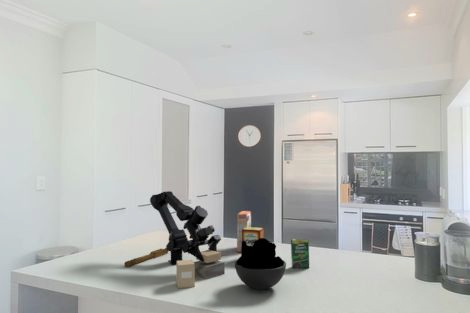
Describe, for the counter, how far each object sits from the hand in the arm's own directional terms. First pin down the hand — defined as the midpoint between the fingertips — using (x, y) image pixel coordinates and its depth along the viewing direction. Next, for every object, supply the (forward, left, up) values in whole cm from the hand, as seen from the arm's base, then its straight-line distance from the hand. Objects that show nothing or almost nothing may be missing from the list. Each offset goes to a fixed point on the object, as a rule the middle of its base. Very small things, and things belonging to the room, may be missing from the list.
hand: (210, 259), depth 154 cm
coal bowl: (+25, +10, -7) cm, 27 cm away
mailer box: (+7, -14, -6) cm, 17 cm away
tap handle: (-38, -17, -7) cm, 42 cm away
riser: (-1, 0, -6) cm, 7 cm away
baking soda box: (-10, +29, -7) cm, 31 cm away
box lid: (-1, 0, 0) cm, 1 cm away
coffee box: (+12, +41, -7) cm, 43 cm away
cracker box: (-30, +36, -7) cm, 47 cm away
